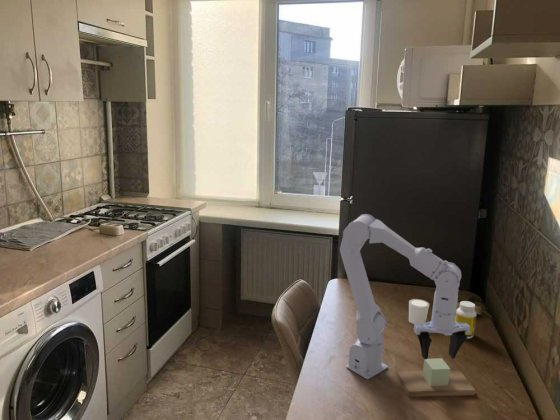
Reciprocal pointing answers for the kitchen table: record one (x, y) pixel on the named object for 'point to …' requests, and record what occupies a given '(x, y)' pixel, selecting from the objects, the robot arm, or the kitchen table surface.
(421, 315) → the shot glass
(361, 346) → the robot arm
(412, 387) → the walnut board
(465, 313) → the pill bottle
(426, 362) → the sage cube
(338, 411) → the kitchen table surface
